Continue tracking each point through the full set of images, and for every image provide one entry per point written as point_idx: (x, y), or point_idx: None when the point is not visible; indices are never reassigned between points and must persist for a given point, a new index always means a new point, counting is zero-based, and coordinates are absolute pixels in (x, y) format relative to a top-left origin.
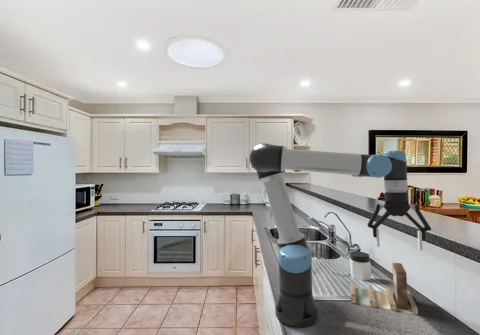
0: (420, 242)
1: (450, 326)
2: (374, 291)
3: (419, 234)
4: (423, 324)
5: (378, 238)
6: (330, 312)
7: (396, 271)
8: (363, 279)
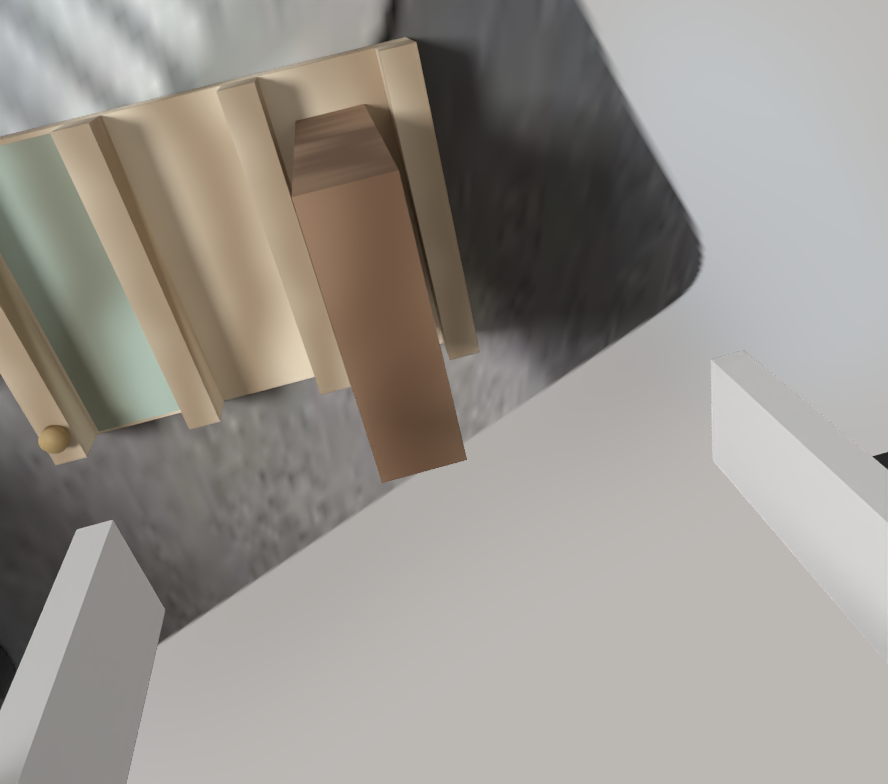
0: (793, 538)
1: (620, 301)
2: (131, 138)
3: (885, 654)
4: (491, 367)
5: (123, 738)
6: (12, 557)
7: (380, 476)
8: None
